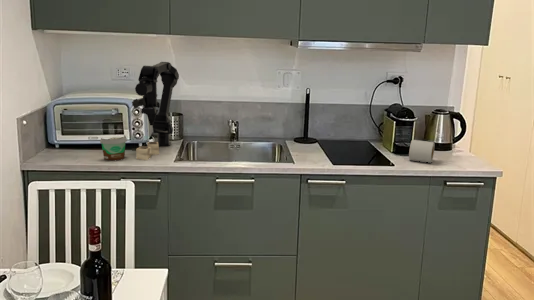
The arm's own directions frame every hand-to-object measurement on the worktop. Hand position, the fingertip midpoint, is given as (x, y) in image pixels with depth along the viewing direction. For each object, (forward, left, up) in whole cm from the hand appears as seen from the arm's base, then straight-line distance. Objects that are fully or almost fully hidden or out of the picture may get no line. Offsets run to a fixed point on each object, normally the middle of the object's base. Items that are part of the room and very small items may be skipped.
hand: (151, 125), depth 249 cm
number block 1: (+12, -2, -13) cm, 18 cm away
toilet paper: (+13, +129, -13) cm, 130 cm away
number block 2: (+3, +1, -13) cm, 13 cm away
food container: (+14, -14, -13) cm, 24 cm away
